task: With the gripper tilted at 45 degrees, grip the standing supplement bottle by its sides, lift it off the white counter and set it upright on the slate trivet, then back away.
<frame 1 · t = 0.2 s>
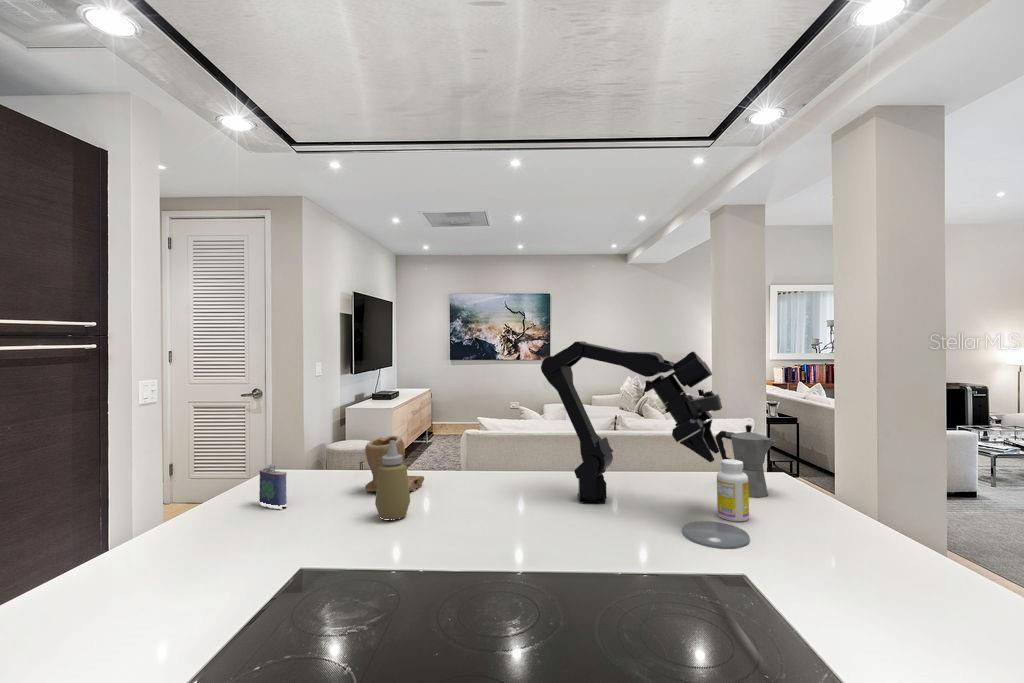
hand: (715, 456, 109), 14 cm above the counter, tool tilted 35°, fingers open, 9 cm apart
coffeepot: (745, 492, 129), on the counter
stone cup: (392, 491, 133), on the counter
supplement bottle: (732, 518, 110), on the counter
slate trivet: (714, 535, 100), on the counter
squeeze bottle: (393, 517, 113), on the counter
flask: (272, 507, 121), on the counter
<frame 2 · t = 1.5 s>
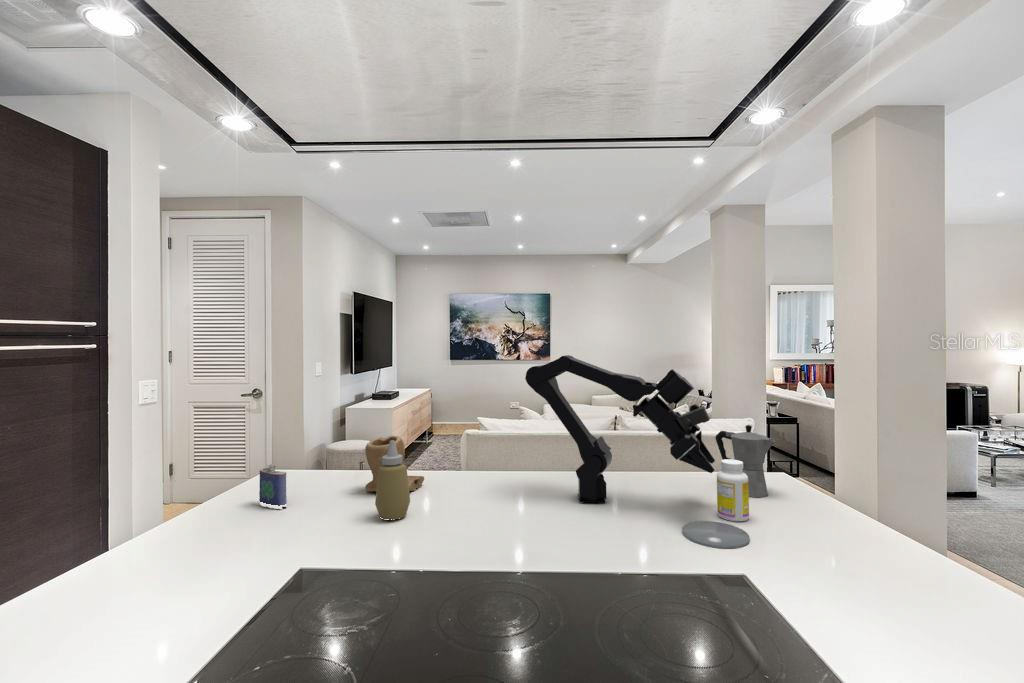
hand: (713, 466, 112), 11 cm above the counter, tool tilted 45°, fingers open, 9 cm apart
nothing on the counter moved.
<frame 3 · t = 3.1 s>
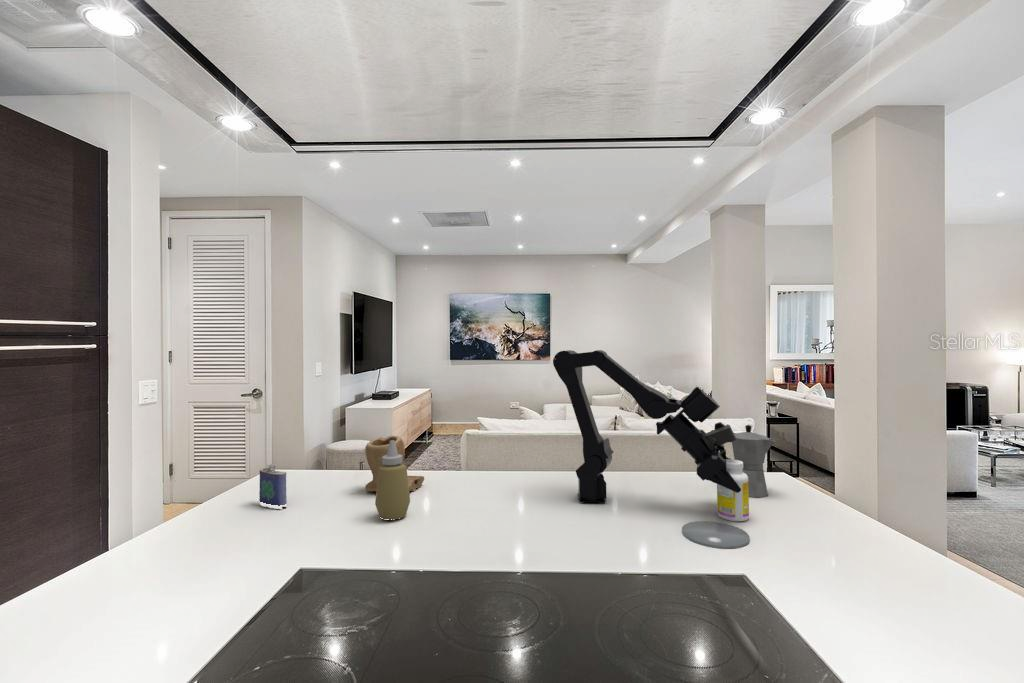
hand: (739, 487, 110), 7 cm above the counter, tool tilted 45°, fingers closed on supplement bottle, 7 cm apart
supplement bottle: (732, 518, 110), on the counter, touching gripper
everything else where it was.
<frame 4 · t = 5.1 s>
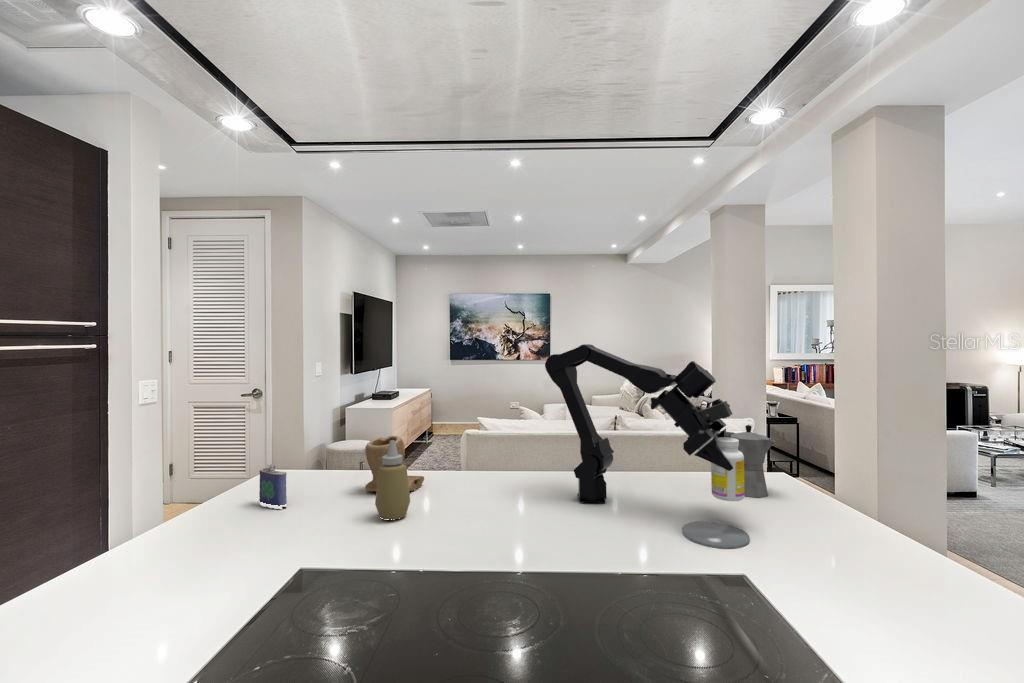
hand: (734, 465, 105), 13 cm above the counter, tool tilted 45°, fingers closed on supplement bottle, 7 cm apart
supplement bottle: (727, 498, 106), point 6 cm above the counter, touching gripper
everything else where it was.
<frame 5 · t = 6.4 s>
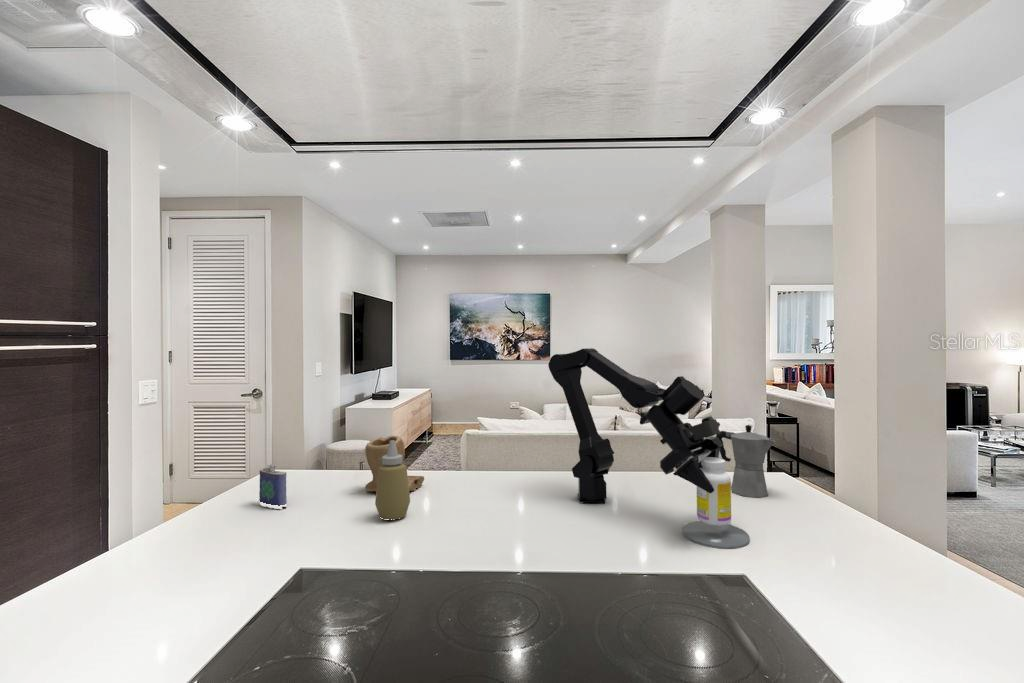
hand: (720, 488, 99), 10 cm above the counter, tool tilted 45°, fingers closed on supplement bottle, 7 cm apart
supplement bottle: (713, 521, 100), point 3 cm above the counter, touching gripper
everything else where it was.
when the fingers open (9 cm above the counter, at t = 7.2 s): supplement bottle drops 1 cm, resting on slate trivet.
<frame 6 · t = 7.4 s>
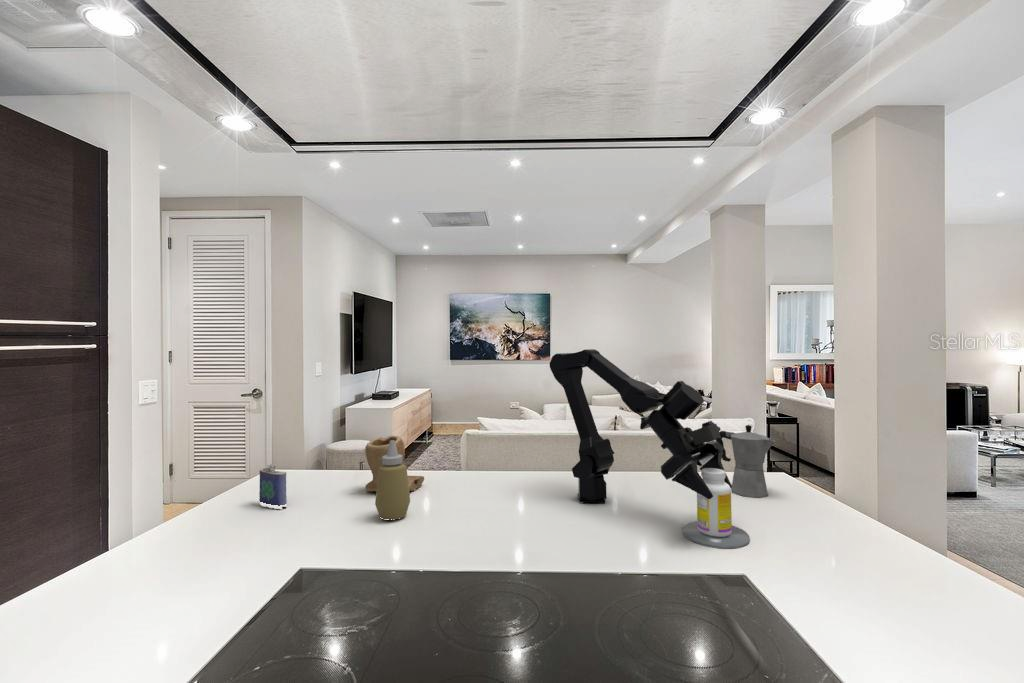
hand: (721, 493, 99), 9 cm above the counter, tool tilted 45°, fingers open, 9 cm apart
supplement bottle: (714, 532, 100), resting on slate trivet
everything else where it was.
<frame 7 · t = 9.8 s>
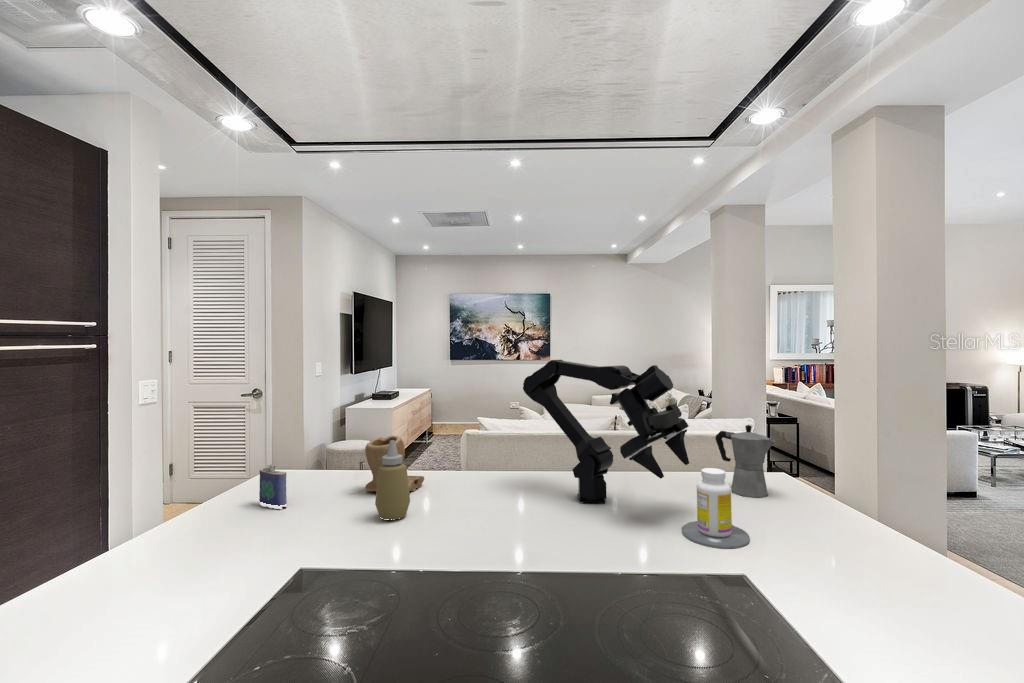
hand: (675, 470, 109), 11 cm above the counter, tool tilted 35°, fingers open, 9 cm apart
nothing on the counter moved.
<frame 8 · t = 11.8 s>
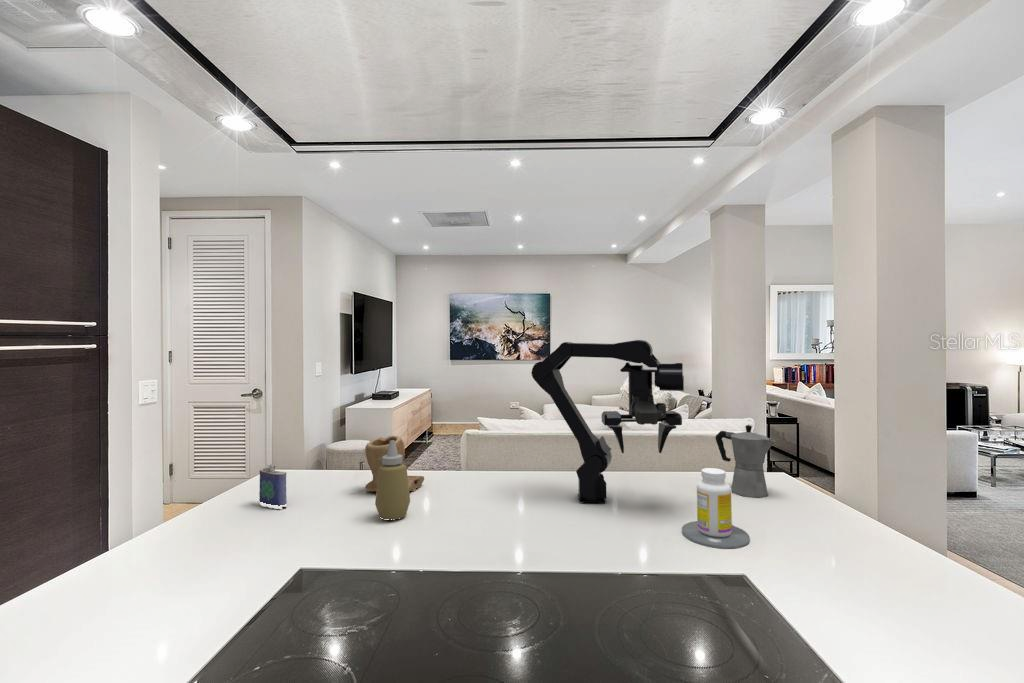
hand: (641, 452, 119), 13 cm above the counter, tool pointing down, fingers open, 9 cm apart
nothing on the counter moved.
at the end: supplement bottle 0.2 cm off-centre on the slate trivet, point 0.4 cm above the slate trivet's base; supplement bottle tilted 0°; the gripper is holding nothing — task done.
